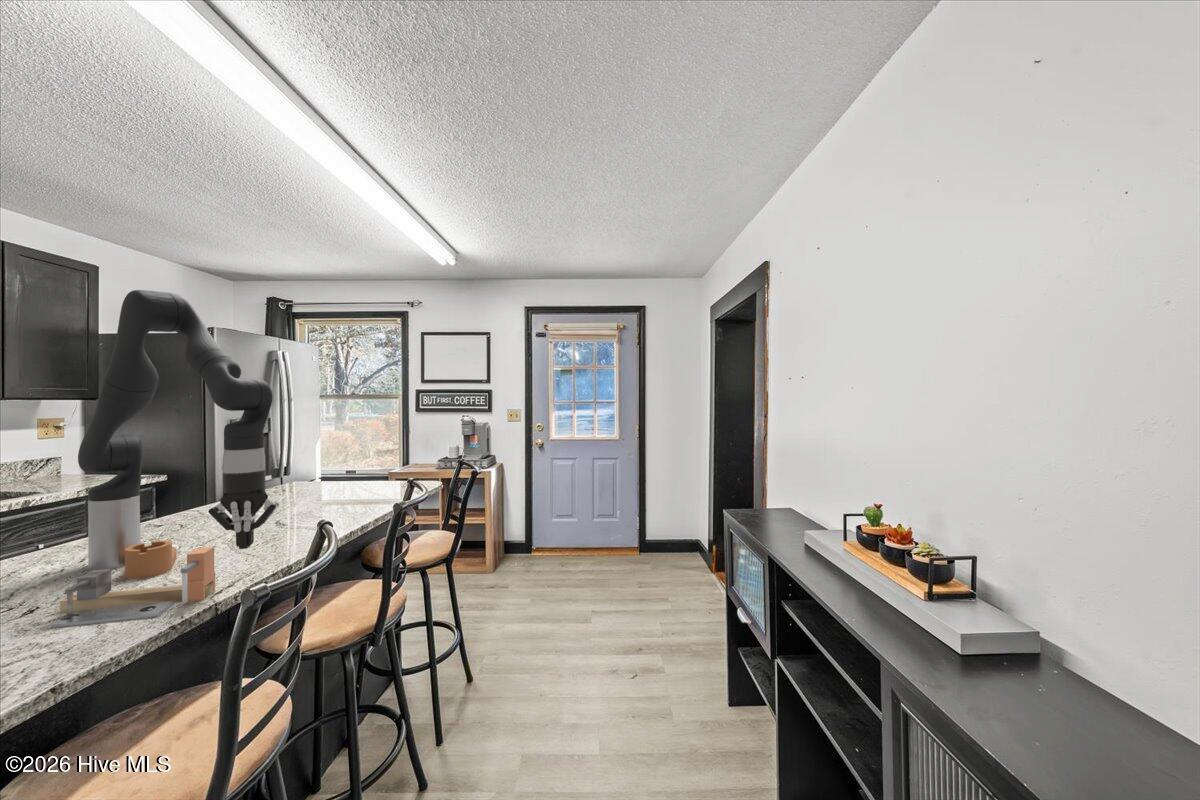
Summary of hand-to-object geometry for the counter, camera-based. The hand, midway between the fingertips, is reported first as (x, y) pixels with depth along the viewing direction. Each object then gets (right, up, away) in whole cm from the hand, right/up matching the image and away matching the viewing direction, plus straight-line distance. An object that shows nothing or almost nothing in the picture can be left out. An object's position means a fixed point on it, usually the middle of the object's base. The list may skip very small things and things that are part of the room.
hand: (244, 547), depth 104 cm
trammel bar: (-17, -10, -8) cm, 21 cm away
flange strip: (-16, -10, -12) cm, 22 cm away
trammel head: (-7, -10, -4) cm, 13 cm away
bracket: (-35, -10, +15) cm, 39 cm away
